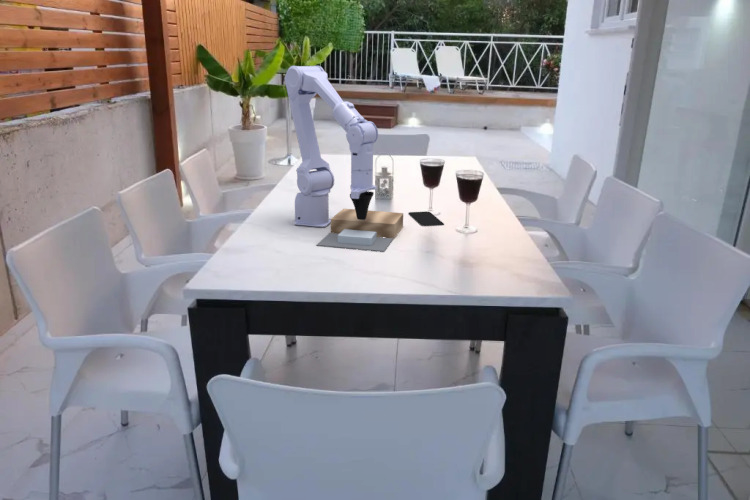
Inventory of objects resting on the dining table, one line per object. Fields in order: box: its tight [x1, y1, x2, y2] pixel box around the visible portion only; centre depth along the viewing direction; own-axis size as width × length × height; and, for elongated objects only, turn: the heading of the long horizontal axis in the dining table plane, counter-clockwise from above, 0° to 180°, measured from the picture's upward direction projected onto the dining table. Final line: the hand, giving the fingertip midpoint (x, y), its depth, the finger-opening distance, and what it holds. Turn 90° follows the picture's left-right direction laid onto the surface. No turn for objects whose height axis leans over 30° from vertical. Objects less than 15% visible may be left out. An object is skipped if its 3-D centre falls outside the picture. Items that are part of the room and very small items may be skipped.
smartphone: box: [408, 211, 445, 227], centre depth 179 cm, size 7×1×15 cm
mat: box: [315, 232, 394, 253], centre depth 155 cm, size 18×11×1 cm, turn 76°
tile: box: [338, 229, 377, 246], centre depth 156 cm, size 9×6×2 cm, turn 76°
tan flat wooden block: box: [330, 208, 404, 239], centre depth 166 cm, size 18×12×4 cm, turn 76°
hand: (361, 219), depth 159 cm, fingers closed
